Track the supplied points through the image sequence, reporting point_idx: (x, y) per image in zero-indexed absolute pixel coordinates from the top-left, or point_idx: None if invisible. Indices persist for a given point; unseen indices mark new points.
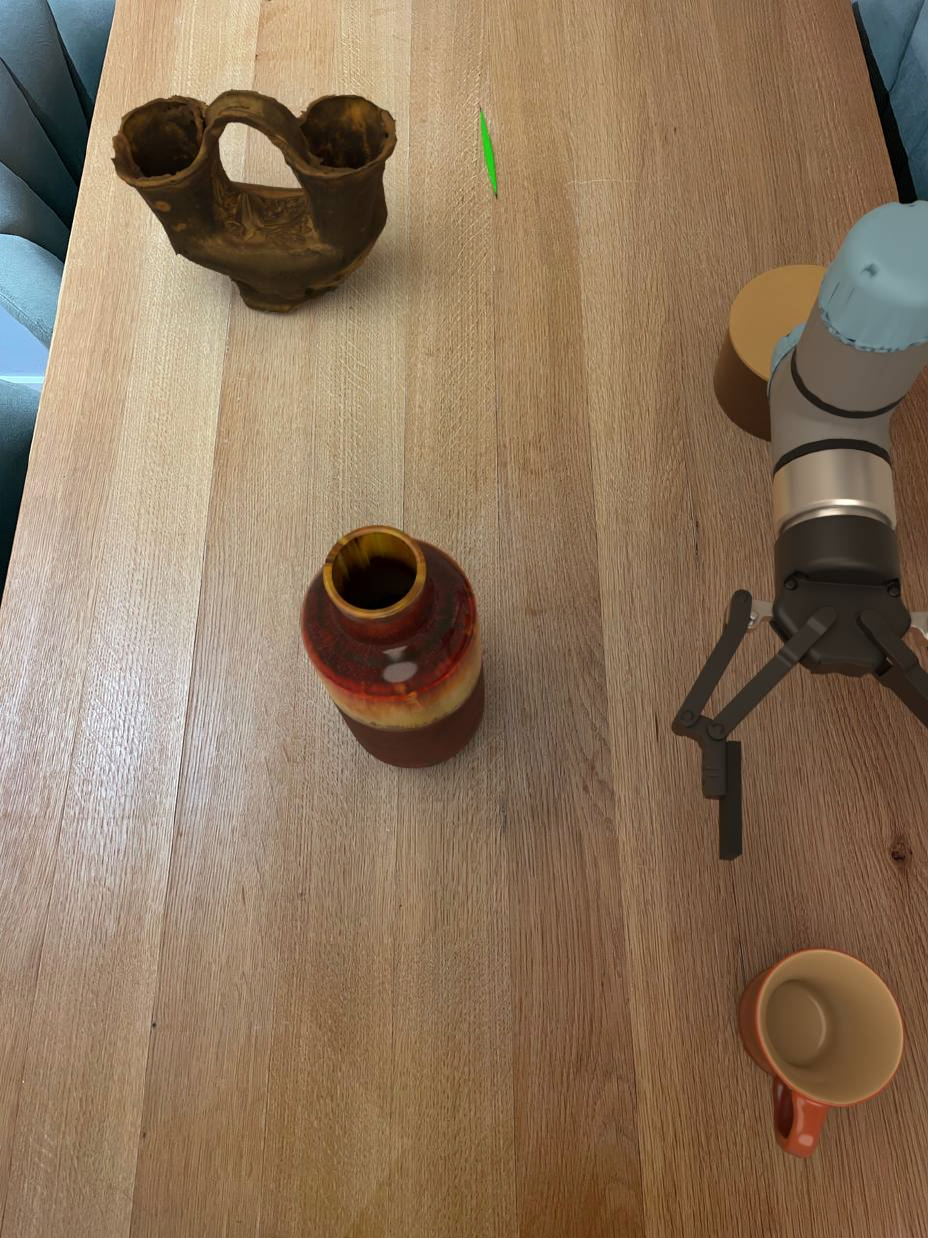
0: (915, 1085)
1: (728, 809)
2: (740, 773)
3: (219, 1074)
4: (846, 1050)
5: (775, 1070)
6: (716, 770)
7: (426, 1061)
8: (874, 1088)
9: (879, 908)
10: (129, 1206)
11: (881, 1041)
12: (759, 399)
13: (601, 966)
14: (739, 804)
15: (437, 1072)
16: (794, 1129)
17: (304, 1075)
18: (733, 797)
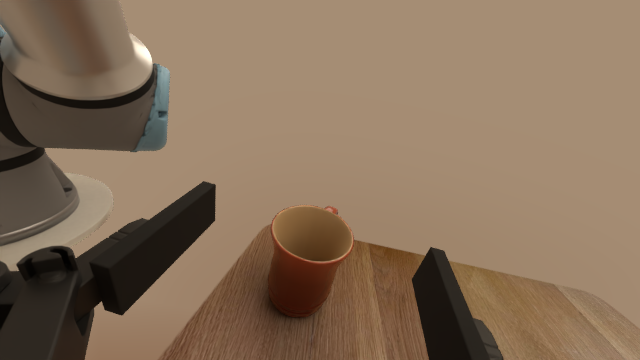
0: (242, 255)
1: (458, 288)
2: (461, 328)
3: (572, 331)
4: (287, 248)
5: (345, 222)
6: (488, 352)
7: (478, 315)
8: (298, 207)
9: (202, 347)
10: (560, 290)
11: (282, 226)
12: None
13: (400, 346)
14: (448, 289)
15: (470, 309)
16: (336, 210)
17: (532, 322)
18: (458, 299)
